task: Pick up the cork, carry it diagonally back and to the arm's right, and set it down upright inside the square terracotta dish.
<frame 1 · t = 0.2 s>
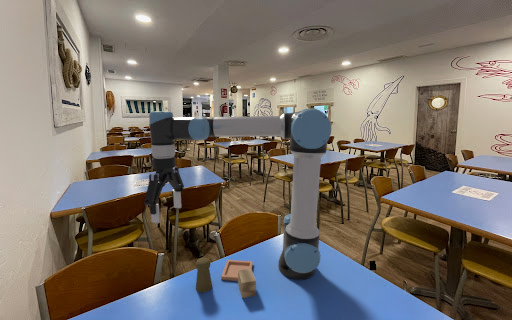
hand: (167, 214, 87), 27 cm above the table, fingers open, 13 cm apart
cork: (204, 287, 89), on the table
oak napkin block: (246, 290, 88), on the table
terracotta dish: (237, 271, 98), on the table
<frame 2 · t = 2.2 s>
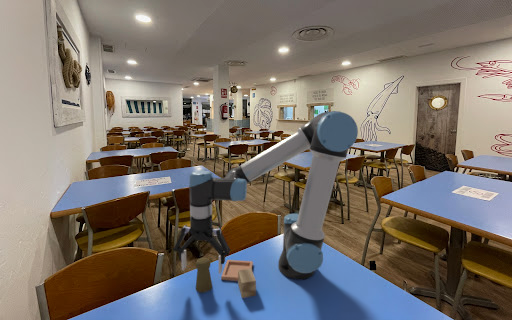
hand: (202, 269, 88), 7 cm above the table, fingers open, 13 cm apart
nothing on the table moved.
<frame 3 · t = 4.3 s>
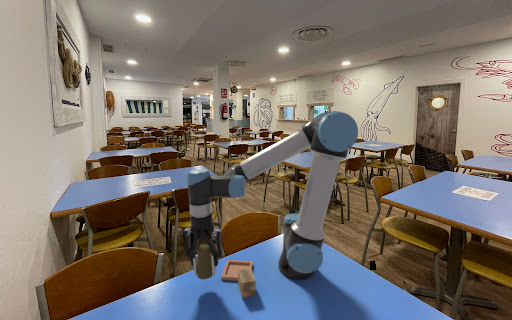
hand: (205, 273, 88), 6 cm above the table, fingers closed on cork, 6 cm apart
cork: (205, 274, 88), point 5 cm above the table, touching gripper
everything else where it was.
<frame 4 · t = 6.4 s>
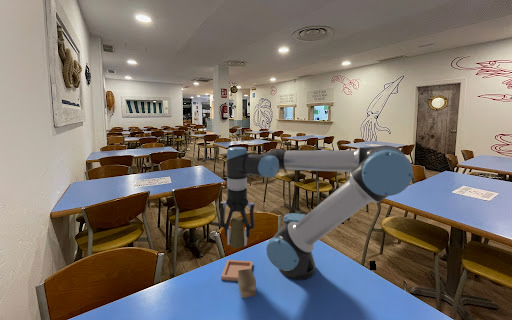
hand: (237, 243, 96), 12 cm above the table, fingers closed on cork, 6 cm apart
cork: (237, 244, 96), point 12 cm above the table, touching gripper
everything else where it was.
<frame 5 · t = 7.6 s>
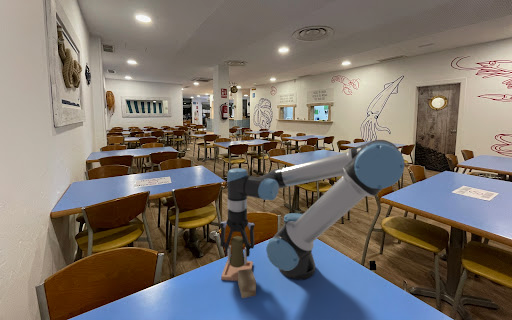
hand: (237, 262, 97), 4 cm above the table, fingers closed on cork, 6 cm apart
cork: (237, 263, 97), point 4 cm above the table, touching gripper
everything else where it was.
when the fingers open (1 cm above the table, at t = 8.6 s): cork stays where it is, resting on terracotta dish.
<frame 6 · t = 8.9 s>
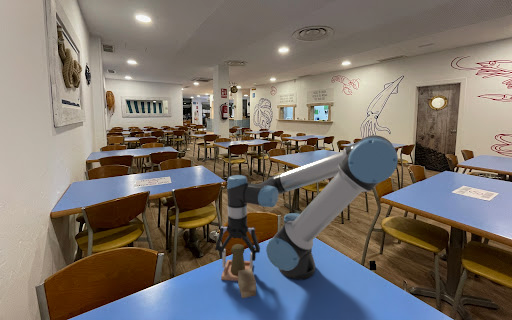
hand: (237, 266, 97), 2 cm above the table, fingers open, 10 cm apart
cork: (238, 271, 98), resting on terracotta dish
everything else where it was.
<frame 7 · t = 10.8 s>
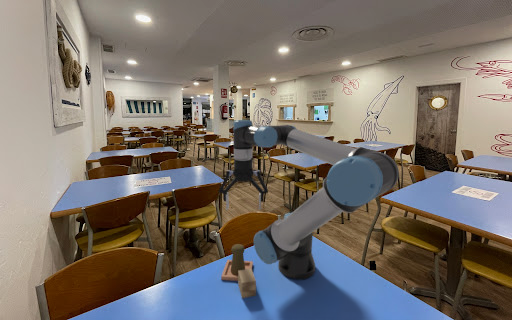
hand: (243, 208, 101), 24 cm above the table, fingers open, 13 cm apart
nothing on the table moved.
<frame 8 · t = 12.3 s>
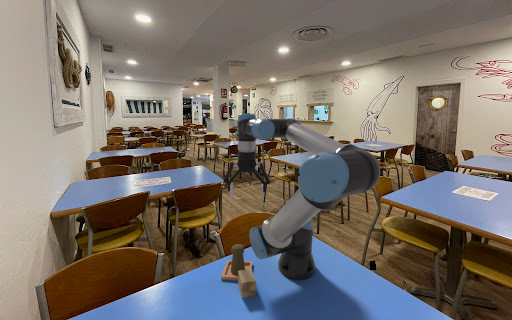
hand: (246, 198, 106), 27 cm above the table, fingers open, 13 cm apart
nothing on the table moved.
at the end: cork 0.1 cm off-centre on the terracotta dish, point 0.2 cm above the terracotta dish's base; cork tilted 0°; the gripper is holding nothing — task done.
